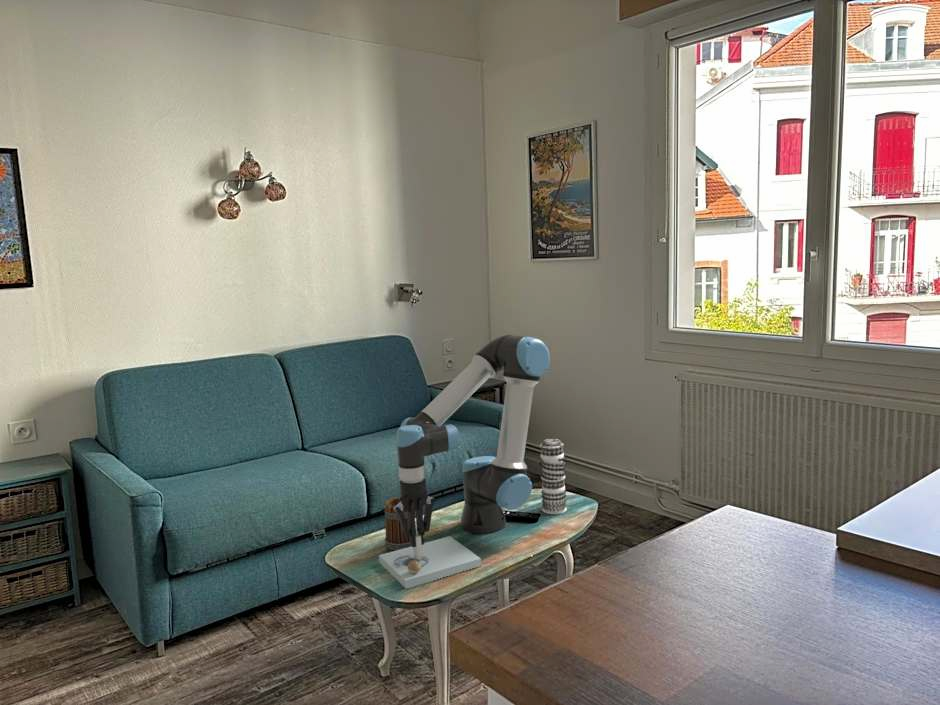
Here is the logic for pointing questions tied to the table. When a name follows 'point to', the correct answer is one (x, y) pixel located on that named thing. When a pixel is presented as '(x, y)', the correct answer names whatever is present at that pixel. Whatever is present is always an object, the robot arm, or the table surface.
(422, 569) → the white slab
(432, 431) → the robot arm
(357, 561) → the table surface
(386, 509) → the mug
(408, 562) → the ball
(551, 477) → the decorative candle
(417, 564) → the cork ball
